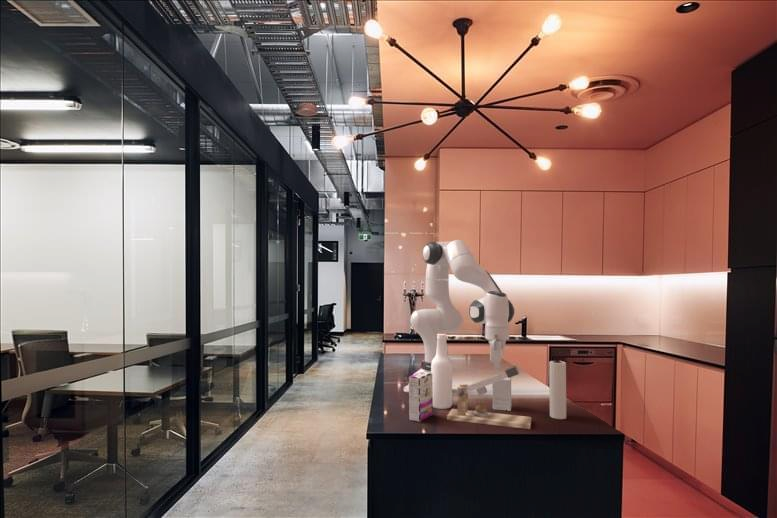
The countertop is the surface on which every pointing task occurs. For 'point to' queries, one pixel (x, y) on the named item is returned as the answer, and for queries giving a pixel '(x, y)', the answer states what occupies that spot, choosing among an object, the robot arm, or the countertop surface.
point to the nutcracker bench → (486, 420)
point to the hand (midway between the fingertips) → (497, 371)
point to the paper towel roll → (557, 389)
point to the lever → (492, 380)
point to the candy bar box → (420, 396)
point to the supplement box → (502, 394)
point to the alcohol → (441, 375)
